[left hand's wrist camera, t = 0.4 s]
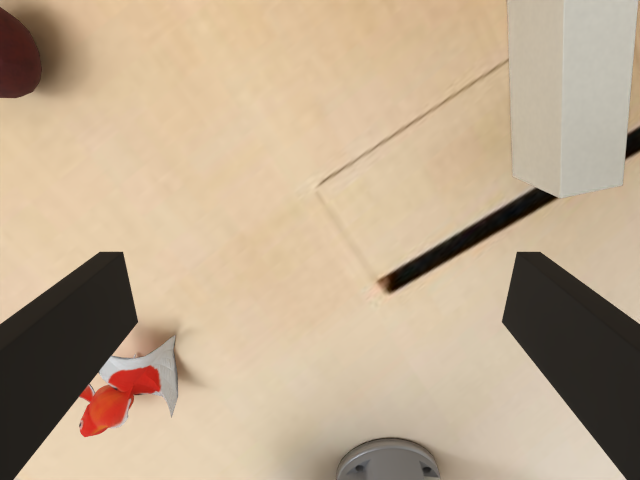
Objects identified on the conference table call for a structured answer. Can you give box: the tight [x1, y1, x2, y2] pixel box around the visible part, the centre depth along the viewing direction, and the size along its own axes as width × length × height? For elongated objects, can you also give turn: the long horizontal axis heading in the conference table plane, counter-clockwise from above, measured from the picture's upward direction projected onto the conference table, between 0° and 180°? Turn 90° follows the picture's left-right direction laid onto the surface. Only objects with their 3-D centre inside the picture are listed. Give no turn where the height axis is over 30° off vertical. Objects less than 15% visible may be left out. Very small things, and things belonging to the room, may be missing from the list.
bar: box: [507, 0, 638, 198], centre depth 31 cm, size 22×5×8 cm, turn 13°
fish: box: [79, 335, 178, 437], centre depth 44 cm, size 11×16×10 cm
